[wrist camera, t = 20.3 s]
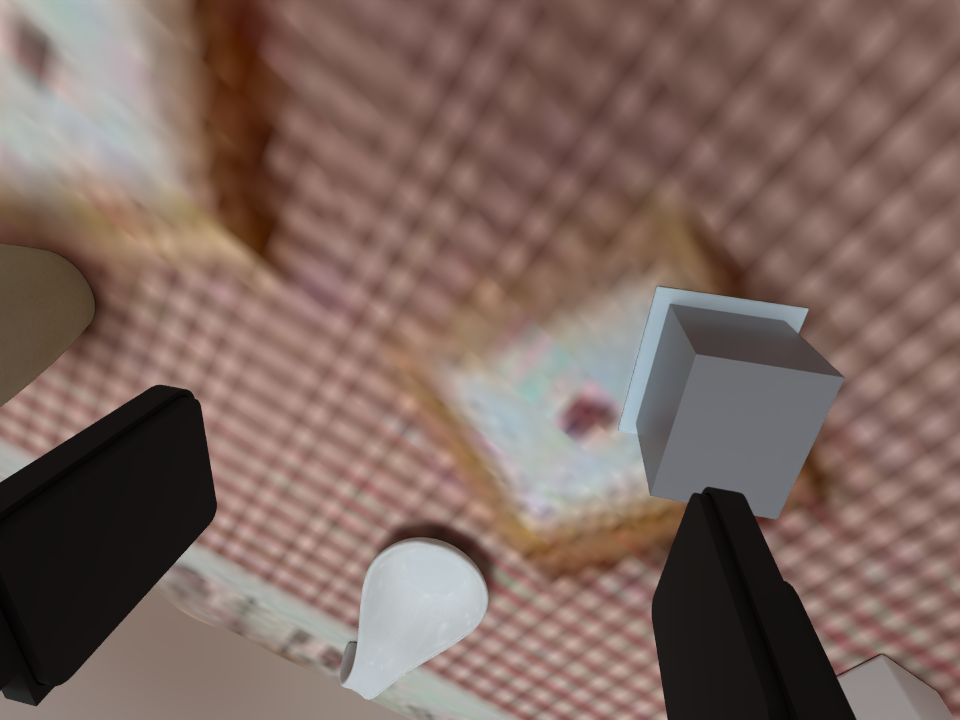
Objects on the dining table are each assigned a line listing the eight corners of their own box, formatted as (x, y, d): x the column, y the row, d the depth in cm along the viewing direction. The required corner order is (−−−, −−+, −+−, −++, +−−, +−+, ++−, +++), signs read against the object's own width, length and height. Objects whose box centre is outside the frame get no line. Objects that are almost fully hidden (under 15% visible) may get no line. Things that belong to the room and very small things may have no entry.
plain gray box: (669, 302, 36) (696, 354, 28) (783, 319, 35) (844, 377, 27) (635, 422, 40) (650, 495, 32) (736, 439, 39) (777, 519, 31)
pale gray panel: (656, 285, 35) (657, 286, 35) (807, 308, 34) (808, 309, 34) (618, 429, 40) (618, 430, 40) (747, 452, 39) (748, 454, 39)
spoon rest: (408, 498, 48) (383, 556, 41) (515, 557, 49) (506, 623, 42) (323, 628, 58) (292, 691, 52) (412, 675, 59) (392, 742, 53)
